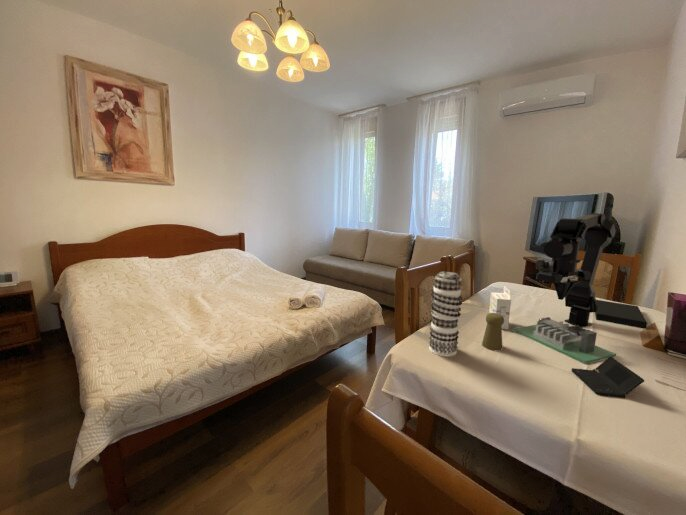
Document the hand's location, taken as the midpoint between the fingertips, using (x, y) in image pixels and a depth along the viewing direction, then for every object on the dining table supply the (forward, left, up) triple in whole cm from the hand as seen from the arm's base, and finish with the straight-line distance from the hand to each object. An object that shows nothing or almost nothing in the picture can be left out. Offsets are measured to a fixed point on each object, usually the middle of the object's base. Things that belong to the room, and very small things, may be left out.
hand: (560, 299), depth 101 cm
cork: (+29, 0, -13) cm, 32 cm away
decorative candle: (+46, -3, -13) cm, 48 cm away
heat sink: (+5, +6, -12) cm, 14 cm away
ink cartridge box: (+13, -13, -13) cm, 23 cm away
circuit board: (+5, +5, -13) cm, 15 cm away
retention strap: (+5, +5, -8) cm, 10 cm away
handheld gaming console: (+18, +25, -14) cm, 34 cm away
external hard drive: (-43, -5, -14) cm, 45 cm away
